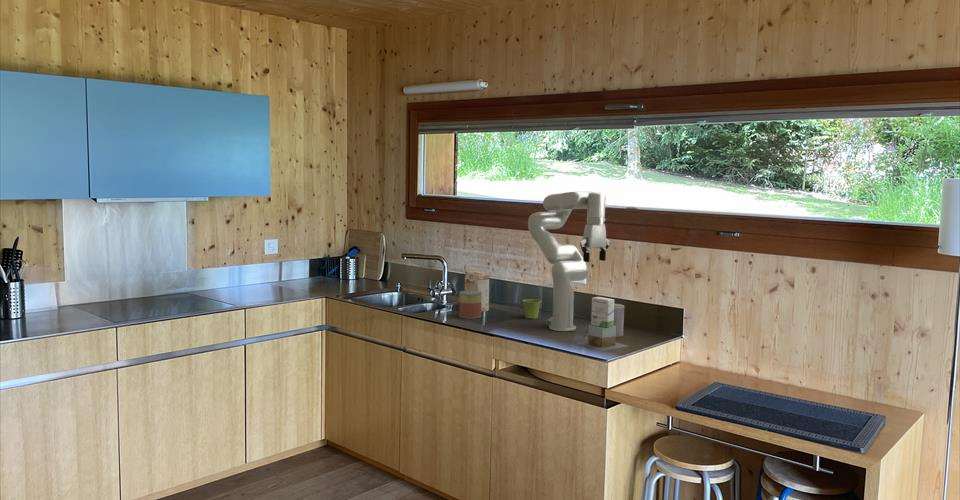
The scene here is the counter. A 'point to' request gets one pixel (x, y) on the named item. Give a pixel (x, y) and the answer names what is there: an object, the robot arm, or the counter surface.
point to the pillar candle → (619, 319)
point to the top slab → (602, 331)
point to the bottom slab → (601, 341)
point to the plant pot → (531, 308)
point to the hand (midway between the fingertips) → (594, 261)
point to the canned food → (470, 304)
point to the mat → (585, 343)
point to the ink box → (602, 312)
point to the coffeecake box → (478, 286)
